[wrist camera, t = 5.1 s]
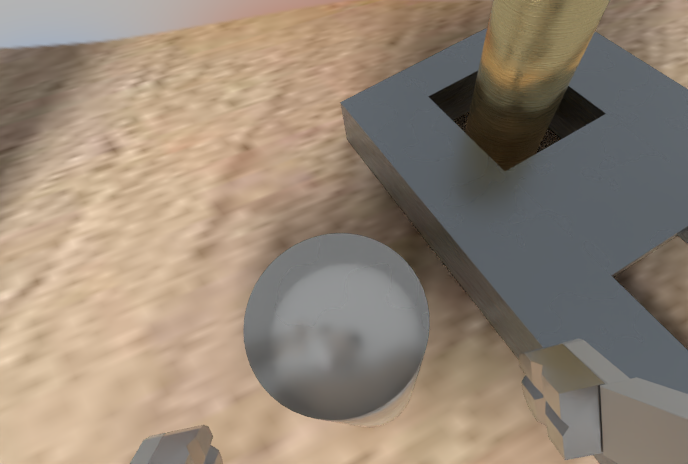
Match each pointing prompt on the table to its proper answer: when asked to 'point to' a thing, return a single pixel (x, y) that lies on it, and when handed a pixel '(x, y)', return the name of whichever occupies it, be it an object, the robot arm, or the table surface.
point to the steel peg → (338, 330)
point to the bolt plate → (540, 177)
